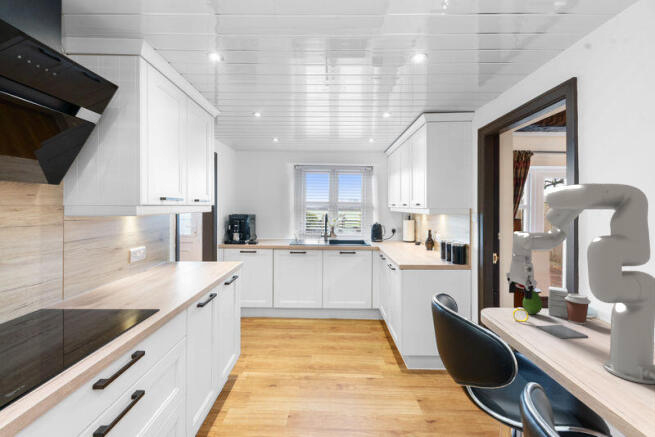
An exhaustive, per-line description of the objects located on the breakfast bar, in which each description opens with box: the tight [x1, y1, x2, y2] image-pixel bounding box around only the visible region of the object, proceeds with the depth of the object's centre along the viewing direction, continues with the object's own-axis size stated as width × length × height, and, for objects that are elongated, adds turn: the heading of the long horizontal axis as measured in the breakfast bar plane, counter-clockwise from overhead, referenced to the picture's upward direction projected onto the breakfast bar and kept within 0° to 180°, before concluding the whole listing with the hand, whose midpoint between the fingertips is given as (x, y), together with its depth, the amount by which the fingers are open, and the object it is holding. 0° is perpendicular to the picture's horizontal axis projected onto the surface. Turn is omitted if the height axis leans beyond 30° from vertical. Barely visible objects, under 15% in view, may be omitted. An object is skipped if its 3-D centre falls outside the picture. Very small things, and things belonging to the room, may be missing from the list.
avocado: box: [522, 289, 543, 315], centre depth 151 cm, size 8×8×12 cm
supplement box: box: [548, 286, 569, 319], centre depth 150 cm, size 7×7×13 cm
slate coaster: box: [536, 324, 589, 340], centre depth 128 cm, size 12×12×1 cm
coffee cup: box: [565, 293, 592, 325], centre depth 141 cm, size 9×9×12 cm
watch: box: [512, 306, 530, 323], centre depth 141 cm, size 6×3×6 cm, turn 73°
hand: (520, 295), depth 141 cm, fingers open, 9 cm apart
